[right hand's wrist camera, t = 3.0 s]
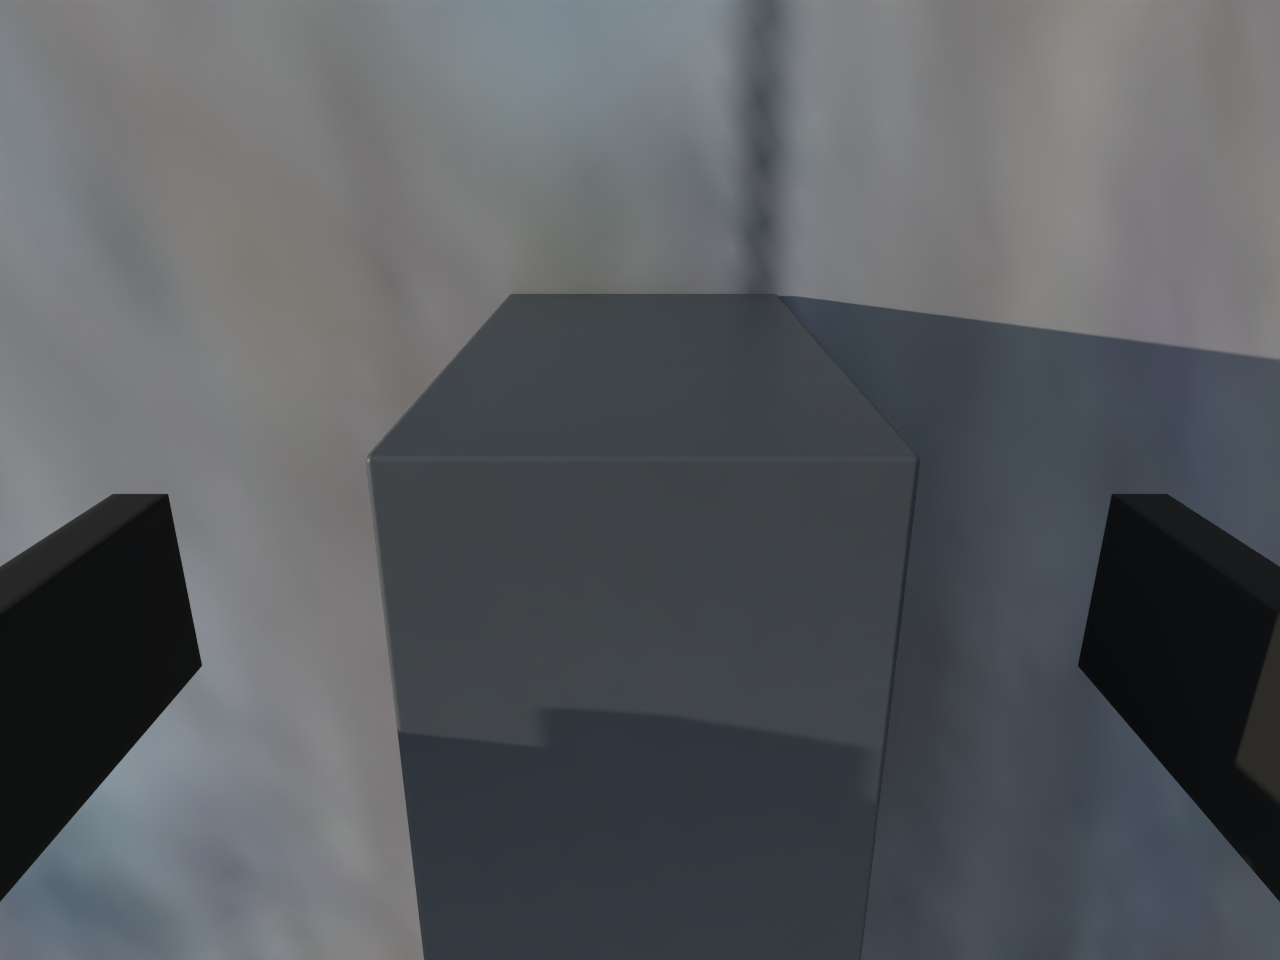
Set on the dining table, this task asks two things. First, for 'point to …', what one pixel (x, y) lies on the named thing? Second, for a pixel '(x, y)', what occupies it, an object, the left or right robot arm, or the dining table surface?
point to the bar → (642, 632)
